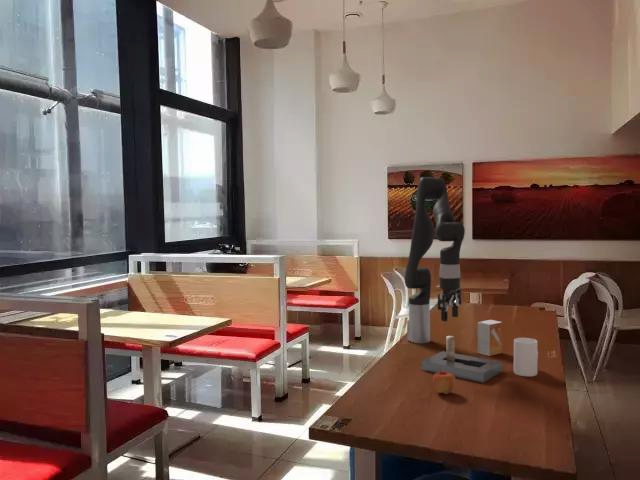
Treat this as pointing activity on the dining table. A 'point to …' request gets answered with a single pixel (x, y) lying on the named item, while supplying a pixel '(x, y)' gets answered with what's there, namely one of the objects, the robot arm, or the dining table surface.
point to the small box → (490, 337)
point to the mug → (525, 356)
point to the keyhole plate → (463, 366)
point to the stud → (450, 348)
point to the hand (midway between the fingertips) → (449, 318)
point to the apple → (444, 382)
